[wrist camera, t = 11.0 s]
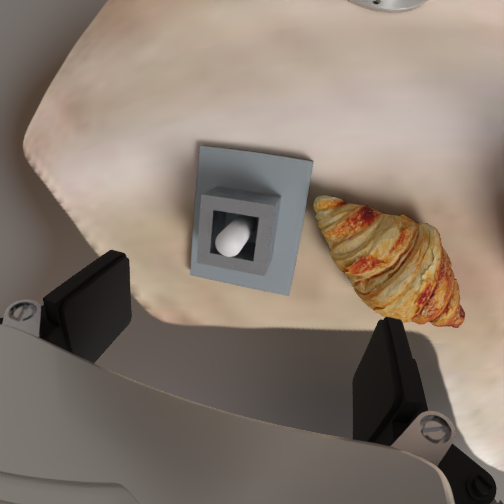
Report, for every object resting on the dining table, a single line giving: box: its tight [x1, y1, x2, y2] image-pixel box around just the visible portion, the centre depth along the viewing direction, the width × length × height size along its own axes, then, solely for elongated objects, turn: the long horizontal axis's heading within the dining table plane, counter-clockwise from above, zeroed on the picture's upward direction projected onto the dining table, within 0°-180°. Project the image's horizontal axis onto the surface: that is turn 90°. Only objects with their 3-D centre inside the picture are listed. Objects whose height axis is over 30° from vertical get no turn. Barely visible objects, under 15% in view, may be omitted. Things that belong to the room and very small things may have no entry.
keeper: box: [190, 146, 313, 296], centre depth 30 cm, size 14×11×8 cm
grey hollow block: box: [197, 186, 282, 276], centre depth 30 cm, size 6×6×4 cm
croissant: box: [313, 195, 465, 328], centre depth 29 cm, size 21×10×8 cm, turn 57°
